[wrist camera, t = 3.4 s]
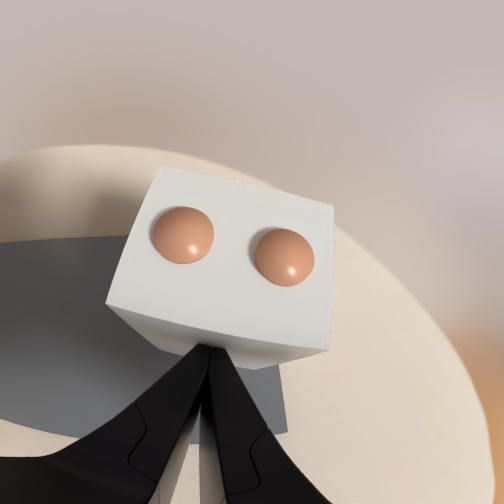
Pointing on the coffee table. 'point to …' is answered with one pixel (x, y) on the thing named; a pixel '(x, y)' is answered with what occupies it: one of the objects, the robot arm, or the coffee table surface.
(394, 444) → the coffee table surface
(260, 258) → the tile two
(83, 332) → the mat
